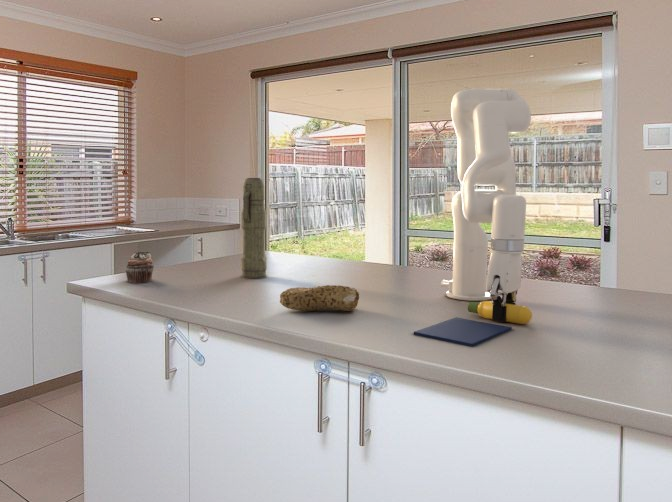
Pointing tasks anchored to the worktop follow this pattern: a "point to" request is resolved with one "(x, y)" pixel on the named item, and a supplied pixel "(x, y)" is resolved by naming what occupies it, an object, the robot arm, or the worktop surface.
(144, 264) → the cupcake
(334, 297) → the sponge
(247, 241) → the thermos
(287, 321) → the worktop surface
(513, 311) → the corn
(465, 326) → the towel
